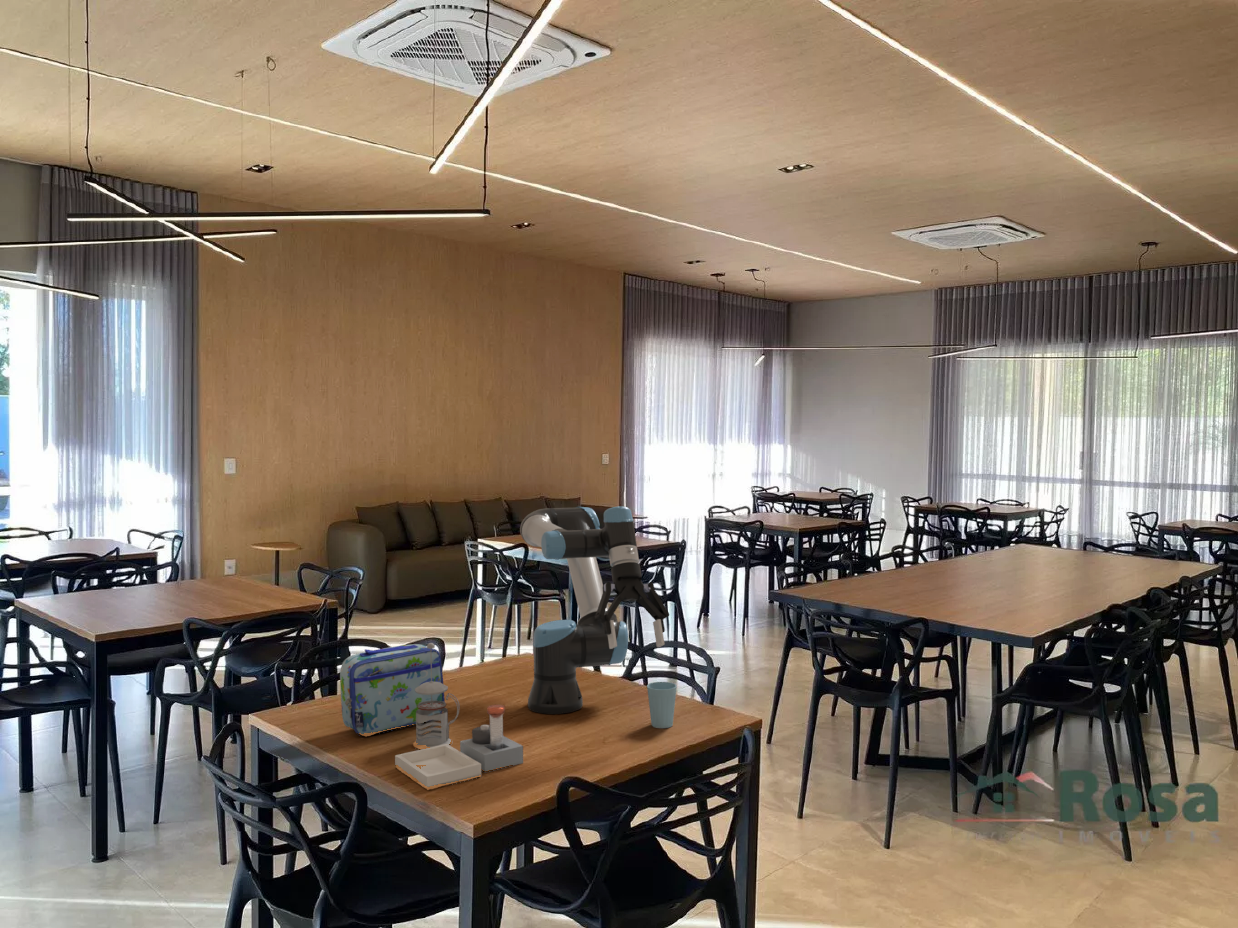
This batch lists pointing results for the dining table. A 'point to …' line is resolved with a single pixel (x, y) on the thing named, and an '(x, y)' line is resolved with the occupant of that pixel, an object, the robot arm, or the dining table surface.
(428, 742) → the french press
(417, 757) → the parts tray
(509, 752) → the grey block with knob
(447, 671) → the dining table surface
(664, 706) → the cup
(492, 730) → the pin
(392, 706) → the lunch box
